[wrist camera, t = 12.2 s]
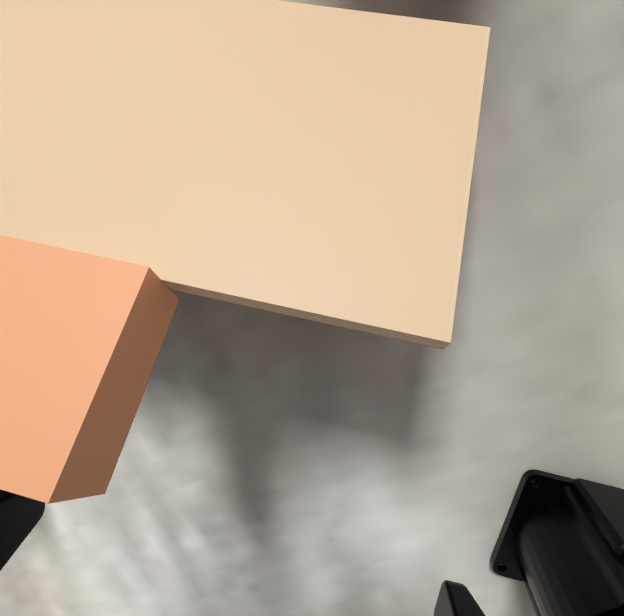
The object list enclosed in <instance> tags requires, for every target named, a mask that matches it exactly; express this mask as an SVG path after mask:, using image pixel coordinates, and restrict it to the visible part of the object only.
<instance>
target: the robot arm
mask: <svg viewBox="0 0 624 616" xmlns="http://www.w3.org/2000/svg"><path fill="white" fill-rule="evenodd" d="M534 479H539V480H538V481H537V482H531V481H532V480H534ZM44 510H45V502H41V501H38V500H35V499H31V498H28V497H24V496H21V495H18V494H14V493H11V492H8V491H4V490H1V489H0V571H1V569H2V568H3V567H4V565H5V564H6V563H7V562H8V560H9V559H10V558H11V556H12V555H13V554H14V552H15V551H16V550H17V549H18V547H19V546H20V545H21V543H22V542H23V541H24V539H25V538H26V537H27V536H28V534H29V533H30V532H31V530H32V529H33V528H34V527H35V525H36V524H37V523H38V521H39V520H40V518H41V517H42V515H43V513H44ZM500 564H503V565H500ZM491 565H492V568H493V571H494V572H495V573H496V574H499V575H502V576H505V577H509V578H512V579H516V580H519V581H523V582H524V583H525V586H526V588H527V591H528V594H529V596H530V599H531V601H532V604H533V607H534V609H535V612H536V615H537V616H624V489H620V488H616V487H612V486H608V485H604V484H600V483H596V482H592V481H588V480H584V479H580V478H579V479H571V478H567V477H563V476H559V475H555V474H551V473H547V472H543V471H539V470H528V471H527V472H525V473H524V475H523V477H522V480H521V482H520V485H519V487H518V490H517V493H516V495H515V498H514V500H513V503H512V506H511V508H510V511H509V513H508V516H507V518H506V521H505V524H504V526H503V529H502V531H501V534H500V536H499V539H498V542H497V544H496V547H495V549H494V552H493V555H492V557H491ZM434 616H485V615H484V613H483V612H482V610H481V609H480V607H479V606H478V604H477V603H476V601H475V600H474V598H473V597H472V595H471V594H470V592H469V591H468V589H467V588H466V587H465V586H464V585H463V584H460V583H456V582H452V581H448V580H445V581H444V582H443V583H442V585H441V589H440V592H439V596H438V599H437V603H436V606H435V610H434Z"/></svg>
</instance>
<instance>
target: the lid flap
mask: <svg viewBox="0 0 624 616" xmlns="http://www.w3.org/2000/svg"><path fill="white" fill-rule="evenodd" d="M489 35H490V27H485V26H477V25H469V24H461V23H454V22H446V21H438V20H430V19H422V18H414V17H406V16H398V15H390V14H382V13H374V12H366V11H358V10H350V9H343V8H335V7H327V6H319V5H311V4H303V3H295V2H287V1H279V0H0V489H1V490H4V491H8V492H11V493H14V494H18V495H21V496H24V497H28V498H31V499H35V500H38V501H41V502H45V503H54V502H60V501H66V500H72V499H77V498H83V497H89V496H95V495H101V494H105V492H106V490H107V487H108V484H109V482H110V479H111V477H112V474H113V471H114V469H115V466H116V464H117V461H118V458H119V456H120V453H121V451H122V448H123V446H124V443H125V440H126V438H127V435H128V433H129V430H130V427H131V425H132V422H133V420H134V417H135V414H136V412H137V409H138V407H139V404H140V401H141V399H142V396H143V394H144V391H145V388H146V386H147V383H148V381H149V378H150V375H151V373H152V370H153V368H154V365H155V362H156V360H157V357H158V355H159V352H160V349H161V347H162V344H163V342H164V339H165V336H166V334H167V331H168V329H169V326H170V323H171V321H172V318H173V316H174V313H175V311H176V308H177V305H178V303H179V300H180V299H179V298H178V297H177V296H176V295H175V294H174V293H173V292H172V291H171V290H175V291H180V292H184V293H189V294H193V295H198V296H203V297H207V298H212V299H216V300H221V301H225V302H230V303H234V304H239V305H243V306H248V307H253V308H257V309H262V310H266V311H271V312H275V313H280V314H284V315H289V316H293V317H298V318H303V319H307V320H312V321H316V322H321V323H325V324H330V325H334V326H339V327H343V328H348V329H353V330H357V331H362V332H366V333H371V334H375V335H380V336H384V337H389V338H393V339H398V340H403V341H407V342H412V343H416V344H421V345H425V346H430V347H434V348H439V349H444V348H445V347H447V346H448V345H449V344H450V343H451V337H452V329H453V321H454V313H455V305H456V297H457V289H458V281H459V273H460V265H461V257H462V249H463V241H464V233H465V225H466V218H467V210H468V202H469V194H470V186H471V178H472V170H473V162H474V154H475V146H476V138H477V130H478V122H479V114H480V106H481V98H482V90H483V82H484V75H485V67H486V59H487V51H488V43H489ZM170 289H171V290H170Z"/></svg>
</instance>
